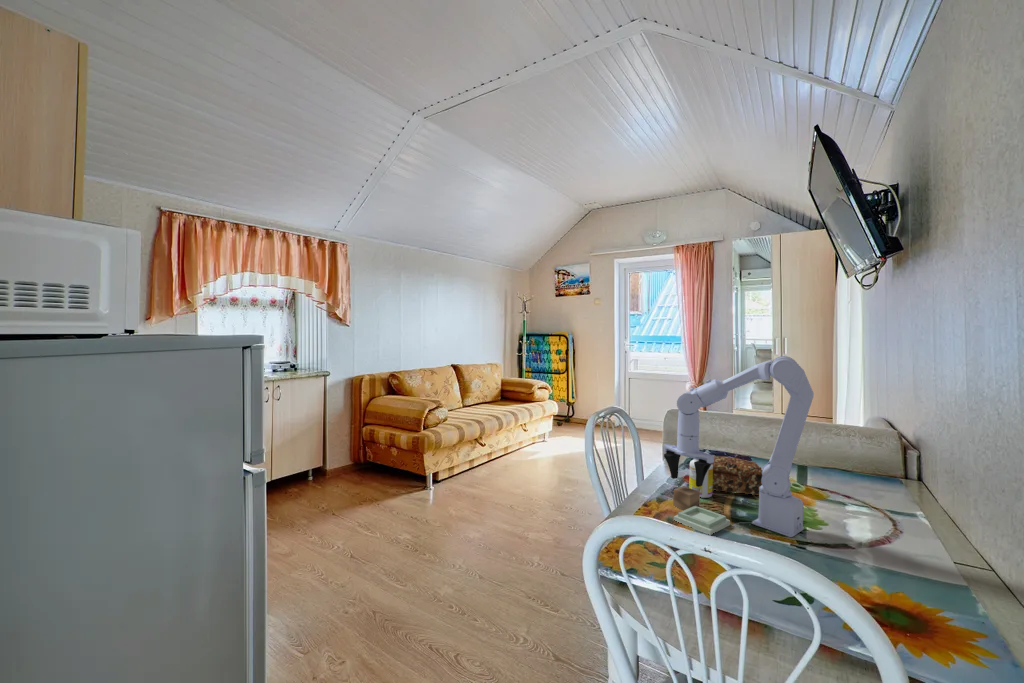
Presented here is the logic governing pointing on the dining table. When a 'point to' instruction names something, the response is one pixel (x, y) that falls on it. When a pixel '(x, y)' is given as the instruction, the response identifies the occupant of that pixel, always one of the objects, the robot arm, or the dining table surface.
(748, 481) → the bread
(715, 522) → the plate
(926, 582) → the dining table surface
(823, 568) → the dining table surface
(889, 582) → the dining table surface
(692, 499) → the cube
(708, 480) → the supplement bottle
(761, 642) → the dining table surface
